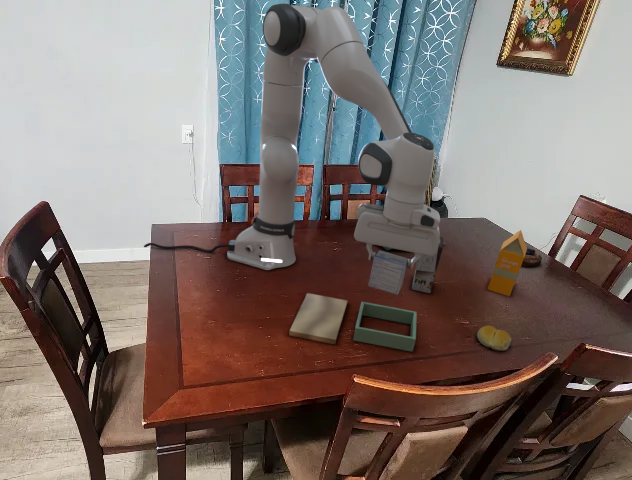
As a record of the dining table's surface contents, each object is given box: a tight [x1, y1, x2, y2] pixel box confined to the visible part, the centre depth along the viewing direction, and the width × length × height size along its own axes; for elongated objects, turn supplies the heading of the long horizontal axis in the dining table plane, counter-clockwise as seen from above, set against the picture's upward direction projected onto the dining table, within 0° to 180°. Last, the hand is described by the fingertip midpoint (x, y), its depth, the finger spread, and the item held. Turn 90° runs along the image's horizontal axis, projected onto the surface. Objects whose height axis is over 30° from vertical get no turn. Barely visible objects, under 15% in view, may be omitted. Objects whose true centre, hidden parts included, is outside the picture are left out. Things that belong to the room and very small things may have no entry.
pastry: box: [521, 245, 543, 268], centre depth 172 cm, size 11×12×6 cm
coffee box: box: [411, 236, 444, 294], centre depth 141 cm, size 9×6×16 cm
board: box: [288, 292, 348, 345], centre depth 120 cm, size 12×20×2 cm, turn 172°
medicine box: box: [367, 250, 409, 296], centre depth 110 cm, size 8×4×9 cm, turn 71°
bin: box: [352, 301, 418, 352], centre depth 118 cm, size 16×14×4 cm
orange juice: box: [487, 229, 527, 297], centre depth 145 cm, size 8×9×20 cm
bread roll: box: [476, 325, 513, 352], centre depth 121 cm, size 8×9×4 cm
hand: (390, 263), depth 109 cm, fingers closed on medicine box, 8 cm apart
